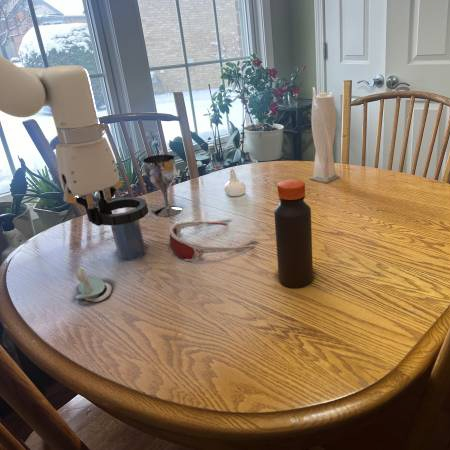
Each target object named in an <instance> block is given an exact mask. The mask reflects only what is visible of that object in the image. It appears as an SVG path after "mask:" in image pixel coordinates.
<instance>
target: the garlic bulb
mask: <svg viewBox="0 0 450 450" xmlns="http://www.w3.org/2000/svg"><path fill="white" fill-rule="evenodd" d="M229 171H230V172H229V180H228V181H227V182H226V183H225V185H224V192H225V195H227V196H229V197H239V196H242V195H244V194H245V193H246V191H247V187H246V184H245V183H244V181H242V180H240V179H238V177H237V175H236V172H235V168H234V167H233V168H230V169H229Z"/></svg>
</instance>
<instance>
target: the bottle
mask: <svg viewBox="0 0 450 450" xmlns="http://www.w3.org/2000/svg"><path fill="white" fill-rule="evenodd" d="M277 197H278V200H279V203H278V204H277V205H276V207H275V208H274V210H273V211H274V212H273V215H274V230H275V231H274V232H275V243H276V258H277V272H278V282H280V284H281V285H283V286H284V287H287V288H291V289H296V288H297V289H298V288H302V287H306V286H308V285H309V284H311V282H312V281H313V279H314V266H313V265H314V264H313V263H314V262H313V233H312V231H313V230H312V209H311V207H310V205H309V204H308V203H306V202H305V198H306V183H305V182H304V181H303V180H300V179H294V178H293V179H285V180H281V181H279V182H278V183H277Z"/></svg>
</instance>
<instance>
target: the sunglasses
mask: <svg viewBox="0 0 450 450" xmlns="http://www.w3.org/2000/svg"><path fill="white" fill-rule="evenodd" d="M200 225H201V226H203V225H216V226H217V225H218V226H225V227H226V226H228V225H229V223H228V222H221V221H201V220H200V221H197V220H196V221H195V220H194V221H184V222H177V223H174V224H172V225H171V226H170V227H169V229H168V230H169V232H168V233H169V242H170V245H171V249H172V251H174V252H175V254H176V255H177V257H178V258H179V259H180V260H182V261H187V262H196V261H198V260H199V259H202V258H203V256H204V254H216V253H217V254H218V253H225V252H231V251H239V250H250V249H253V248H255V247H256V244H249V245H242V246H240V245H239V246H210V245H202V244H198V243H194V242H191V241H187V240H185V239H183V238H181V237H180V235H181V231H182V230H184V229H187V228H189V227H190V228H191V227H195V226H200Z"/></svg>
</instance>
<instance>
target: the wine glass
mask: <svg viewBox="0 0 450 450" xmlns="http://www.w3.org/2000/svg"><path fill="white" fill-rule="evenodd" d="M142 163H143V168H144V172H145V174H146V177H147V179H148V181H149V182H150V183H151V184H152V185H153V186H154V187H156V188H157V189H158V190H160V192H161V193H162V197H163V199H164V205H165V206H164V207H162V208H161V207H160V208H159V209H156V210H155V212H154V215H155V216H156V217H162V218H163V217H164V218H165V217H172V216H176V215H178V214H180V213H181V212H182V208H181V207H179V206H175V205H170V204H169V199H168V198H169V197H168V191H169V188H170V186H171V185H172V183H173V182H174V181H175V178H176V173H177V172H176V171H177V169H176V168H177V167H176V160H175V156H174V155H172V154H155V155H150V156H147V157H145V158H143V160H142Z"/></svg>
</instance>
